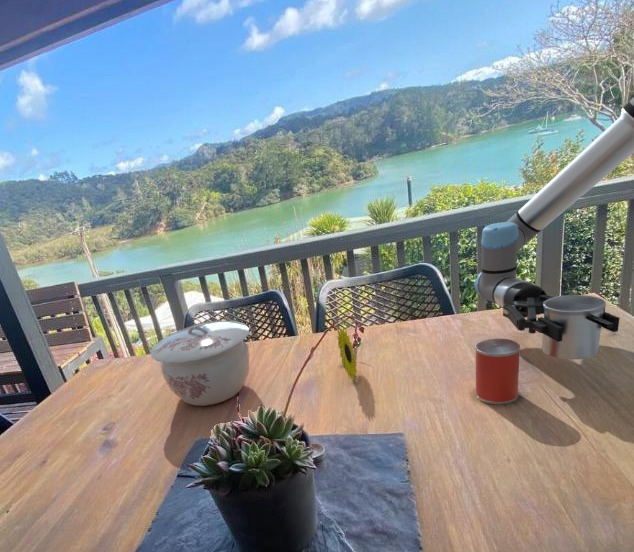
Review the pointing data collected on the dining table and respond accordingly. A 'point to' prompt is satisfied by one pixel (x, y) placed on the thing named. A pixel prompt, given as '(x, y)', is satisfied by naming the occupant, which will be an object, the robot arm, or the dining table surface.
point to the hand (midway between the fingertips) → (588, 330)
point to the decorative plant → (347, 353)
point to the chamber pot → (205, 361)
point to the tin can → (497, 371)
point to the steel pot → (575, 326)
